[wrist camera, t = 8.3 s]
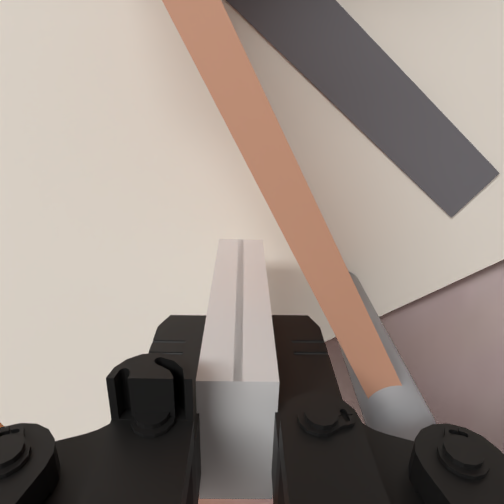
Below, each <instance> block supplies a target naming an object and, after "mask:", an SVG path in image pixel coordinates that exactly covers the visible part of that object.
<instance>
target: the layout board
mask: <svg viewBox="0 0 504 504" xmlns="http://www.w3.org/2000/svg"><path fill="white" fill-rule="evenodd" d="M221 1H222V3H223V5H224V8H225V10H226V12H227V14H228V16H229V18H230V20H231V22H232V25H233V27H234V29H235V31H236V33H237V35H238V37H239V40H240V42H241V44H242V46H243V48H244V50H245V52H246V54H247V57H248V59H249V61H250V63H251V65H252V67H253V69H254V71H255V74H256V76H257V78H258V80H259V82H260V84H261V86H262V88H263V91H264V93H265V95H266V97H267V99H268V101H269V103H270V105H271V108H272V110H273V112H274V114H275V116H276V118H277V120H278V122H279V125H280V127H281V129H282V131H283V133H284V135H285V137H286V140H287V142H288V144H289V146H290V148H291V150H292V152H293V154H294V157H295V159H296V161H297V163H298V165H299V167H300V169H301V171H302V174H303V176H304V178H305V180H306V182H307V184H308V186H309V188H310V191H311V193H312V195H313V197H314V199H315V201H316V203H317V205H318V208H319V210H320V212H321V214H322V216H323V218H324V220H325V222H326V225H327V227H328V229H329V231H330V233H331V235H332V237H333V239H334V242H335V244H336V246H337V248H338V250H339V252H340V254H341V257H342V259H343V261H344V263H345V265H346V267H347V269H348V271H349V272H351V273H353V274H354V275H356V276H357V278H358V279H359V281H360V283H361V285H362V287H363V288H364V290H365V292H366V294H367V296H368V298H369V300H370V301H371V303H372V305H373V307H374V309H375V311H376V312H377V314H378V316H379V317H380V316H382V315H384V314H386V313H388V312H391V311H393V310H395V309H397V308H399V307H401V306H404V305H406V304H408V303H410V302H412V301H414V300H417V299H419V298H421V297H423V296H425V295H427V294H430V293H432V292H434V291H436V290H438V289H440V288H443V287H445V286H447V285H449V284H451V283H453V282H456V281H458V280H460V279H462V278H464V277H466V276H469V275H471V274H473V273H475V272H477V271H479V270H482V269H484V268H486V267H488V266H490V265H492V264H495V263H497V262H499V261H501V260H503V259H504V0H221ZM219 239H244V240H263V246H264V255H265V263H266V272H267V280H268V289H269V297H270V306H271V314H272V315H308V316H309V317H310V318H311V319H312V320H313V321H314V322H315V323H316V324H317V325H318V326H319V327H320V329H321V332H322V335H323V339H324V342H326V341H328V340H330V339H332V338H334V337H336V336H335V334H334V332H333V330H332V328H331V326H330V324H329V322H328V320H327V318H326V316H325V314H324V312H323V311H322V309H321V307H320V305H319V303H318V301H317V299H316V297H315V295H314V293H313V291H312V289H311V287H310V285H309V283H308V282H307V280H306V278H305V276H304V274H303V272H302V270H301V268H300V266H299V264H298V262H297V260H296V258H295V256H294V255H293V253H292V251H291V249H290V247H289V245H288V243H287V241H286V239H285V237H284V235H283V233H282V231H281V229H280V227H279V226H278V224H277V222H276V220H275V218H274V216H273V214H272V212H271V210H270V208H269V206H268V204H267V202H266V200H265V198H264V197H263V195H262V193H261V191H260V189H259V187H258V185H257V183H256V181H255V179H254V177H253V175H252V173H251V171H250V169H249V168H248V166H247V164H246V162H245V160H244V158H243V156H242V154H241V152H240V150H239V148H238V146H237V144H236V142H235V140H234V139H233V137H232V135H231V133H230V131H229V129H228V127H227V125H226V123H225V121H224V119H223V117H222V115H221V113H220V111H219V110H218V108H217V106H216V104H215V102H214V100H213V98H212V96H211V94H210V92H209V90H208V88H207V86H206V84H205V82H204V81H203V79H202V77H201V75H200V73H199V71H198V69H197V67H196V65H195V63H194V61H193V59H192V57H191V55H190V53H189V52H188V50H187V48H186V46H185V44H184V42H183V40H182V38H181V36H180V34H179V32H178V30H177V28H176V26H175V24H174V23H173V21H172V19H171V17H170V15H169V13H168V11H167V9H166V7H165V5H164V3H163V1H162V0H0V422H1V423H2V424H3V425H4V426H9V425H14V424H18V423H35V424H39V425H41V426H43V427H45V428H47V429H49V430H50V432H51V434H52V435H53V437H54V439H55V441H58V440H62V439H66V438H70V437H74V436H78V435H82V434H86V433H89V432H92V431H95V430H98V429H100V428H102V427H104V426H106V425H108V424H110V422H111V413H110V406H109V398H108V391H107V384H106V377H107V376H108V374H109V373H110V372H111V371H112V369H113V368H114V367H115V366H117V365H119V364H120V363H122V362H123V361H125V360H126V359H129V358H132V357H135V356H138V355H141V354H148V353H149V349H150V347H151V344H152V343H153V338H154V335H155V333H156V330H157V327H158V326H159V325H160V324H161V323H162V322H163V321H164V320H165V319H166V318H168V317H169V316H170V315H207V309H208V303H209V297H210V291H211V285H212V279H213V273H214V267H215V261H216V255H217V249H218V243H219Z"/></svg>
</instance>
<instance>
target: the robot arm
mask: <svg viewBox="0 0 504 504" xmlns="http://www.w3.org/2000/svg"><path fill="white" fill-rule="evenodd" d="M106 384H107V391H108V398H109V406H110V413H111V422H110V424H108V425H106V426H104V427H102V428H100V429H98V430H95V431H92V432H89V433H86V434H82V435H78V436H74V437H70V438H66V439H62V440H58V441H55V439H54V437H53V435H52V434H51V432H50V430H49V429H47V428H45V427H43V426H41V425H39V424H35V423H18V424H14V425H9V426H5V427H1V428H0V504H198V498H199V497H200V499H272V494H273V503H274V504H504V454H503V453H502V452H501V451H500V450H499V449H498V448H496V447H495V446H494V445H493V444H491V443H490V442H489V441H488V440H486V439H485V438H484V437H483V436H481V435H479V434H476V433H474V432H472V431H470V430H468V429H466V428H463V427H459V426H455V425H451V424H432V425H430V426H427V427H425V428H423V429H421V430H420V432H419V433H418V435H417V436H416V438H415V440H414V441H411V440H407V439H404V438H400V437H396V436H392V435H388V434H385V433H382V432H379V431H377V430H374V429H372V428H370V427H368V426H366V425H364V424H363V423H362V422H361V420H360V418H359V417H358V415H357V413H356V412H355V410H354V409H353V408H352V407H351V406H349V405H348V404H347V403H346V402H344V401H343V400H342V397H341V394H340V390H339V387H338V384H337V381H336V377H335V374H334V371H333V368H332V364H331V361H330V358H329V355H328V352H327V348H326V345H325V343H324V339H323V335H322V332H321V329H320V327H319V326H318V325H317V324H316V323H315V322H314V321H313V320H312V319H311V318H310V317H309V316H308V315H272V314H271V306H270V297H269V289H268V280H267V272H266V263H265V255H264V246H263V240H244V239H219V243H218V249H217V255H216V261H215V267H214V273H213V279H212V285H211V291H210V297H209V303H208V309H207V315H170V316H169V317H168V318H166V319H165V320H164V321H163V322H162V323H161V324H160V325H159V326H158V327H157V330H156V333H155V335H154V338H153V343H152V344H151V347H150V349H149V353H148V354H141V355H138V356H135V357H132V358H129V359H126V360H125V361H123V362H122V363H120V364H119V365H117V366H115V367H114V368H113V369H112V371H111V372H110V373H109V374H108V376H107V377H106Z"/></svg>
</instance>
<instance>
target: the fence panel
mask: <svg viewBox="0 0 504 504" xmlns="http://www.w3.org/2000/svg"><path fill="white" fill-rule="evenodd" d="M162 1H163V3H164V5H165V7H166V9H167V11H168V13H169V15H170V17H171V19H172V21H173V23H174V24H175V26H176V28H177V30H178V32H179V34H180V36H181V38H182V40H183V42H184V44H185V46H186V48H187V50H188V52H189V53H190V55H191V57H192V59H193V61H194V63H195V65H196V67H197V69H198V71H199V73H200V75H201V77H202V79H203V81H204V82H205V84H206V86H207V88H208V90H209V92H210V94H211V96H212V98H213V100H214V102H215V104H216V106H217V108H218V110H219V111H220V113H221V115H222V117H223V119H224V121H225V123H226V125H227V127H228V129H229V131H230V133H231V135H232V137H233V139H234V140H235V142H236V144H237V146H238V148H239V150H240V152H241V154H242V156H243V158H244V160H245V162H246V164H247V166H248V168H249V169H250V171H251V173H252V175H253V177H254V179H255V181H256V183H257V185H258V187H259V189H260V191H261V193H262V195H263V197H264V198H265V200H266V202H267V204H268V206H269V208H270V210H271V212H272V214H273V216H274V218H275V220H276V222H277V224H278V226H279V227H280V229H281V231H282V233H283V235H284V237H285V239H286V241H287V243H288V245H289V247H290V249H291V251H292V253H293V255H294V256H295V258H296V260H297V262H298V264H299V266H300V268H301V270H302V272H303V274H304V276H305V278H306V280H307V282H308V283H309V285H310V287H311V289H312V291H313V293H314V295H315V297H316V299H317V301H318V303H319V305H320V307H321V309H322V311H323V312H324V314H325V316H326V318H327V320H328V322H329V324H330V326H331V328H332V330H333V332H334V334H335V336H336V338H337V340H338V343H339V346H340V349H341V352H342V355H343V358H344V361H345V364H346V367H347V370H348V373H349V376H350V379H351V382H352V385H353V388H354V390H355V393H356V396H357V399H358V402H359V405H360V408H361V411H362V414H363V417H364V420H365V423H366V426H368V427H370V428H372V429H374V430H377V431H379V432H382V433H385V434H388V435H392V436H396V437H400V438H404V439H407V440H411V441H414V440H415V438H416V436H417V435H418V433H419V432H420V430H421V429H423V428H425V427H427V426H430V425H432V424H436V422H435V419H434V417H433V415H432V414H431V412H430V410H429V408H428V406H427V404H426V403H425V401H424V399H423V397H422V395H421V393H420V392H419V390H418V388H417V386H416V384H415V382H414V380H413V379H412V377H411V375H410V373H409V371H408V369H407V368H406V366H405V364H404V362H403V360H402V358H401V357H400V355H399V353H398V351H397V349H396V347H395V346H394V344H393V342H392V340H391V338H390V336H389V334H388V333H387V331H386V329H385V327H384V325H383V323H382V322H381V320H380V318H379V316H378V314H377V312H376V311H375V309H374V307H373V305H372V303H371V301H370V300H369V298H368V296H367V294H366V292H365V290H364V288H363V287H362V285H361V283H360V281H359V279H358V278H357V276H356V275H354V274H353V273H351V272H349V271H348V269H347V267H346V265H345V263H344V261H343V259H342V257H341V254H340V252H339V250H338V248H337V246H336V244H335V242H334V239H333V237H332V235H331V233H330V231H329V229H328V227H327V225H326V222H325V220H324V218H323V216H322V214H321V212H320V210H319V208H318V205H317V203H316V201H315V199H314V197H313V195H312V193H311V191H310V188H309V186H308V184H307V182H306V180H305V178H304V176H303V174H302V171H301V169H300V167H299V165H298V163H297V161H296V159H295V157H294V154H293V152H292V150H291V148H290V146H289V144H288V142H287V140H286V137H285V135H284V133H283V131H282V129H281V127H280V125H279V122H278V120H277V118H276V116H275V114H274V112H273V110H272V108H271V105H270V103H269V101H268V99H267V97H266V95H265V93H264V91H263V88H262V86H261V84H260V82H259V80H258V78H257V76H256V74H255V71H254V69H253V67H252V65H251V63H250V61H249V59H248V57H247V54H246V52H245V50H244V48H243V46H242V44H241V42H240V40H239V37H238V35H237V33H236V31H235V29H234V27H233V25H232V22H231V20H230V18H229V16H228V14H227V12H226V10H225V8H224V5H223V3H222V1H221V0H162Z"/></svg>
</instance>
